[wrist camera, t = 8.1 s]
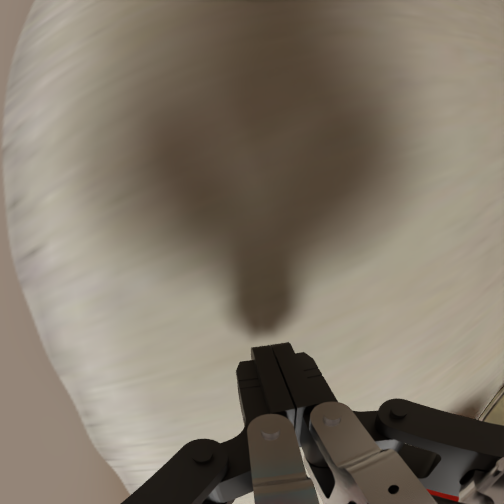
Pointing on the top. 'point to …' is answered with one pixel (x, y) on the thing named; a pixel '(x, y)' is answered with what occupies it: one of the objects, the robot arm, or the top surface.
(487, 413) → the coffee can
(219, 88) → the top surface
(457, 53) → the top surface
